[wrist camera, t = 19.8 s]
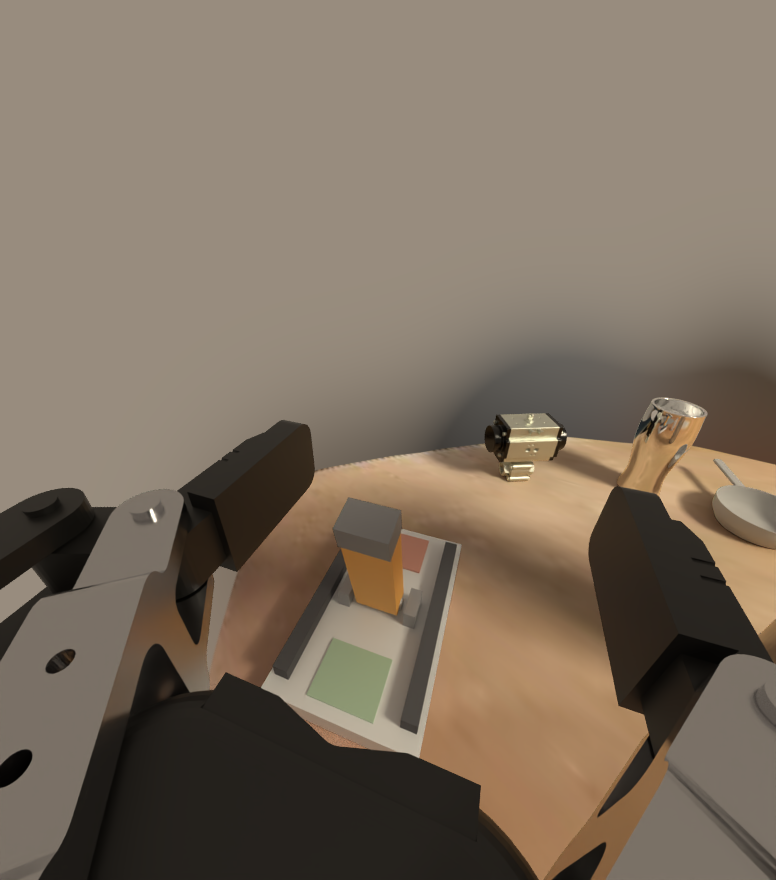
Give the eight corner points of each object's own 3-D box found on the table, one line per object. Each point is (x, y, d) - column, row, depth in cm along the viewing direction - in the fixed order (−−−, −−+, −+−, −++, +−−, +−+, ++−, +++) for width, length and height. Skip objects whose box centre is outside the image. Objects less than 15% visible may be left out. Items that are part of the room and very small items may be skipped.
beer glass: (654, 479, 59) (696, 400, 51) (669, 505, 53) (719, 421, 46) (609, 471, 61) (643, 394, 53) (619, 496, 55) (659, 413, 47)
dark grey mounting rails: (416, 734, 27) (418, 727, 26) (274, 674, 30) (272, 666, 30) (455, 552, 42) (457, 544, 42) (358, 526, 46) (358, 518, 45)
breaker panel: (416, 770, 27) (420, 751, 24) (263, 700, 30) (255, 678, 28) (459, 555, 44) (463, 533, 42) (359, 527, 48) (359, 506, 46)
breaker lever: (398, 621, 35) (391, 545, 24) (354, 606, 36) (330, 528, 25) (406, 592, 37) (403, 511, 26) (364, 579, 38) (346, 496, 27)
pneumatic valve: (477, 469, 61) (488, 408, 54) (540, 466, 62) (558, 406, 56) (487, 489, 56) (502, 425, 50) (555, 486, 57) (577, 423, 51)
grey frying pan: (729, 547, 47) (745, 527, 45) (671, 471, 62) (681, 453, 60) (826, 564, 45) (847, 544, 43) (741, 481, 59) (754, 463, 57)
